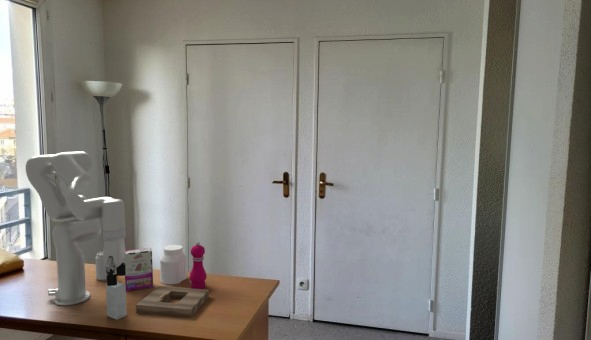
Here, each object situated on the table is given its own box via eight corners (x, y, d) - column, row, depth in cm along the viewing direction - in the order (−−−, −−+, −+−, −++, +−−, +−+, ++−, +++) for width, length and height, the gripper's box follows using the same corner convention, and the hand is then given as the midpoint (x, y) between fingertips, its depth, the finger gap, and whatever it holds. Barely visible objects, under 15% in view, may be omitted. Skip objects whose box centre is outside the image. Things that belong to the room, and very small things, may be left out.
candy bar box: (152, 283, 177) (151, 247, 176) (153, 287, 173) (152, 250, 171) (124, 287, 173) (123, 250, 171) (125, 291, 168) (123, 253, 167)
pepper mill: (202, 290, 170) (201, 244, 168) (186, 289, 172) (185, 243, 170) (209, 284, 177) (209, 240, 175) (194, 282, 179) (193, 238, 177)
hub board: (190, 317, 147) (190, 308, 146) (136, 312, 150) (135, 303, 149) (208, 296, 164) (208, 288, 164) (159, 292, 167) (159, 285, 167)
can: (109, 281, 179) (108, 255, 178) (92, 281, 179) (91, 255, 178) (117, 275, 186) (116, 250, 185) (101, 275, 186) (100, 249, 185)
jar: (171, 274, 189) (171, 243, 187) (189, 276, 186) (189, 245, 185) (156, 283, 178) (156, 250, 176) (175, 285, 175) (175, 252, 174)
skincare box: (127, 315, 147) (126, 284, 146) (116, 320, 144) (115, 287, 142) (117, 311, 150) (116, 280, 149) (106, 315, 147) (105, 284, 146)
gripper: (111, 228, 152) (114, 272, 153) (94, 240, 135) (96, 290, 136) (132, 227, 153) (134, 271, 154) (117, 239, 136) (119, 289, 137)
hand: (116, 280), depth 145 cm, fingers open, 9 cm apart
